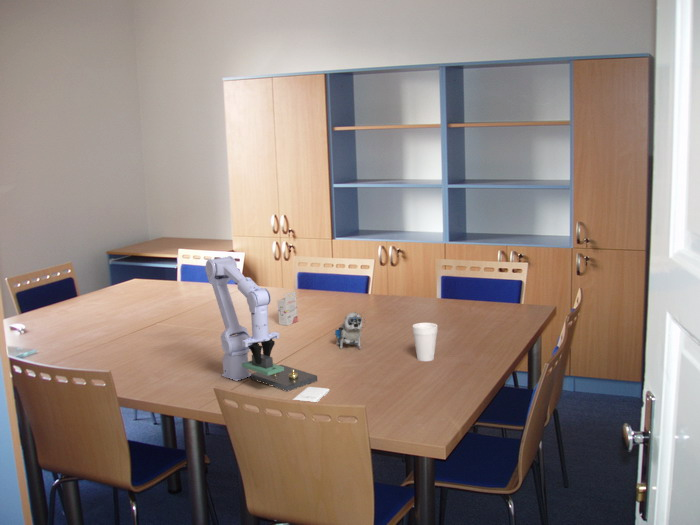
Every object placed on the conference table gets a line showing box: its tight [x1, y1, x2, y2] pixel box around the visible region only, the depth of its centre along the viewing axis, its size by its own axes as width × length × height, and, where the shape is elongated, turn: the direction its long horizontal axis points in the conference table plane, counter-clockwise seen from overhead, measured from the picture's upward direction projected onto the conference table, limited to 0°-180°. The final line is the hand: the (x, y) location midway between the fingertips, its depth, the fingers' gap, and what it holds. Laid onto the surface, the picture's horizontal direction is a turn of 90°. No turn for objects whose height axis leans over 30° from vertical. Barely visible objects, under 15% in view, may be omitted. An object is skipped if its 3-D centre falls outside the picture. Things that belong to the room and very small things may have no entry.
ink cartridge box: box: [277, 290, 299, 327], centre depth 342 cm, size 9×5×15 cm, turn 147°
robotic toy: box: [334, 311, 366, 350], centre depth 302 cm, size 13×17×15 cm
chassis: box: [250, 362, 318, 392], centre depth 264 cm, size 20×14×5 cm
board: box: [242, 353, 284, 376], centre depth 256 cm, size 15×7×4 cm, turn 44°
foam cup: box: [412, 322, 438, 362], centre depth 282 cm, size 10×9×13 cm
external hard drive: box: [292, 386, 330, 403], centre depth 247 cm, size 2×8×12 cm
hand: (262, 362), depth 256 cm, fingers closed on board, 3 cm apart
